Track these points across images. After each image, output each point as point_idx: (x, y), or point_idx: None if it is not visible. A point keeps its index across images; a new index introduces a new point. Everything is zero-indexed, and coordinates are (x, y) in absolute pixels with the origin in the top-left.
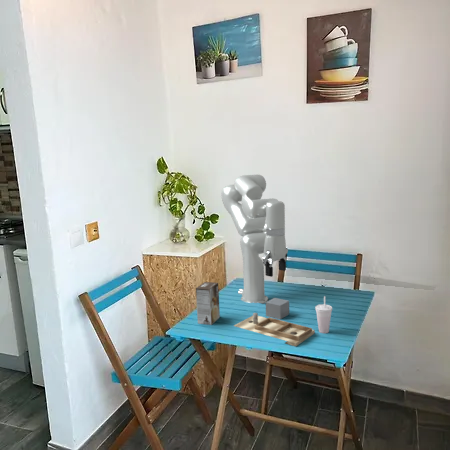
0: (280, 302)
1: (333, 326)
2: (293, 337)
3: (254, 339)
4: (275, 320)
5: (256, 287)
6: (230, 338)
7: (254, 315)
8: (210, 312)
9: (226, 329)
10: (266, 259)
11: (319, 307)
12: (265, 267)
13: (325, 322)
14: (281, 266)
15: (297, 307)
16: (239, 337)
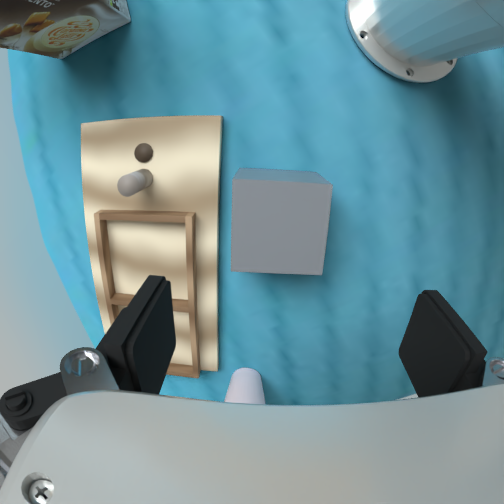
0: (276, 249)
1: (295, 384)
2: None
3: (69, 238)
4: (186, 251)
5: (411, 27)
6: (35, 171)
7: (119, 187)
8: (24, 50)
9: (71, 108)
10: (6, 466)
11: None
12: (112, 330)
13: None
14: (424, 347)
15: (416, 226)
16: (52, 189)
